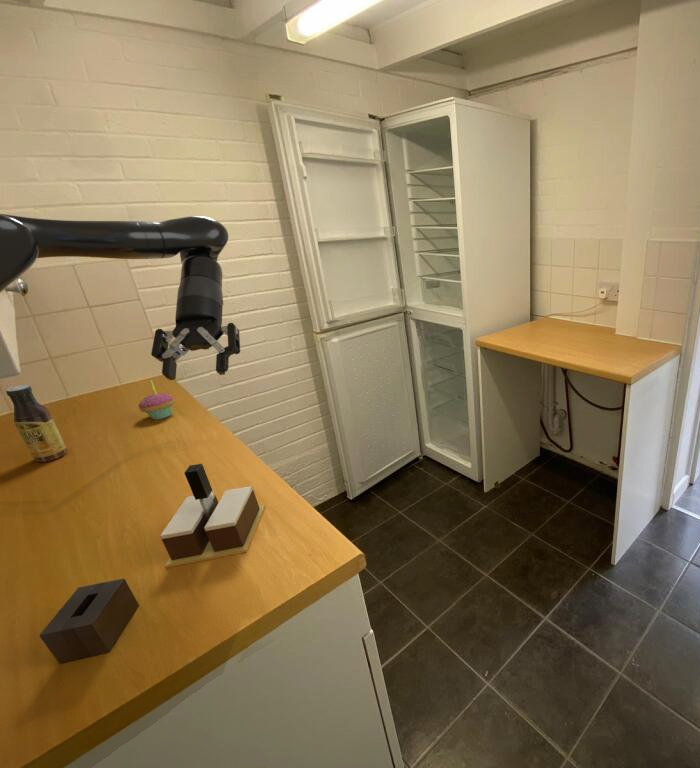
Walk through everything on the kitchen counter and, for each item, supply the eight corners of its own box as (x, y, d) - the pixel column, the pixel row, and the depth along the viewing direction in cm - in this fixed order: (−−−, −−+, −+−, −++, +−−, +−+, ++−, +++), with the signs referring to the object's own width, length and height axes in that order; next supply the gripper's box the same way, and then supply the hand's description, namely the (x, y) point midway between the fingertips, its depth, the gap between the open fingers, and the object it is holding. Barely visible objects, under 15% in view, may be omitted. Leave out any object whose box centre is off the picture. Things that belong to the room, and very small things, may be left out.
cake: (196, 519, 85) (185, 494, 83) (265, 506, 88) (257, 482, 86) (165, 568, 74) (152, 540, 71) (246, 552, 77) (236, 525, 74)
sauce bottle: (28, 464, 106) (-14, 393, 98) (52, 450, 112) (14, 383, 104) (54, 463, 106) (15, 392, 99) (77, 449, 112) (41, 382, 104)
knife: (216, 528, 82) (190, 464, 76) (227, 526, 83) (202, 462, 77) (210, 538, 79) (183, 473, 73) (222, 536, 80) (196, 471, 74)
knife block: (95, 614, 66) (78, 587, 63) (139, 605, 67) (124, 578, 65) (59, 664, 59) (38, 635, 56) (109, 652, 60) (91, 624, 58)
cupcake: (151, 412, 132) (136, 377, 127) (182, 407, 134) (169, 373, 130) (139, 425, 124) (123, 388, 119) (173, 419, 127) (159, 383, 122)
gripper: (148, 296, 80) (139, 372, 75) (230, 290, 84) (228, 363, 78) (171, 316, 87) (164, 388, 82) (246, 310, 90) (245, 378, 85)
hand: (195, 375), depth 80 cm, fingers open, 8 cm apart
